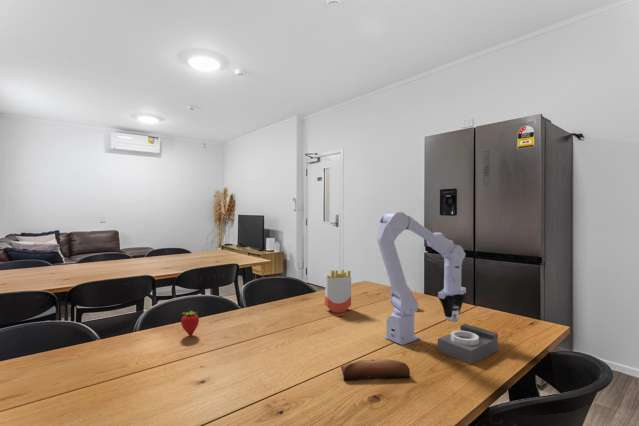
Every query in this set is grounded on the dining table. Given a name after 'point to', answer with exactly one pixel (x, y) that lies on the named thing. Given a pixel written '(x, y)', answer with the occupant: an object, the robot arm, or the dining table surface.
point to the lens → (454, 314)
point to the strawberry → (190, 322)
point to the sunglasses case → (375, 369)
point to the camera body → (469, 343)
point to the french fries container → (338, 291)
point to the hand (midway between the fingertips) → (452, 315)
